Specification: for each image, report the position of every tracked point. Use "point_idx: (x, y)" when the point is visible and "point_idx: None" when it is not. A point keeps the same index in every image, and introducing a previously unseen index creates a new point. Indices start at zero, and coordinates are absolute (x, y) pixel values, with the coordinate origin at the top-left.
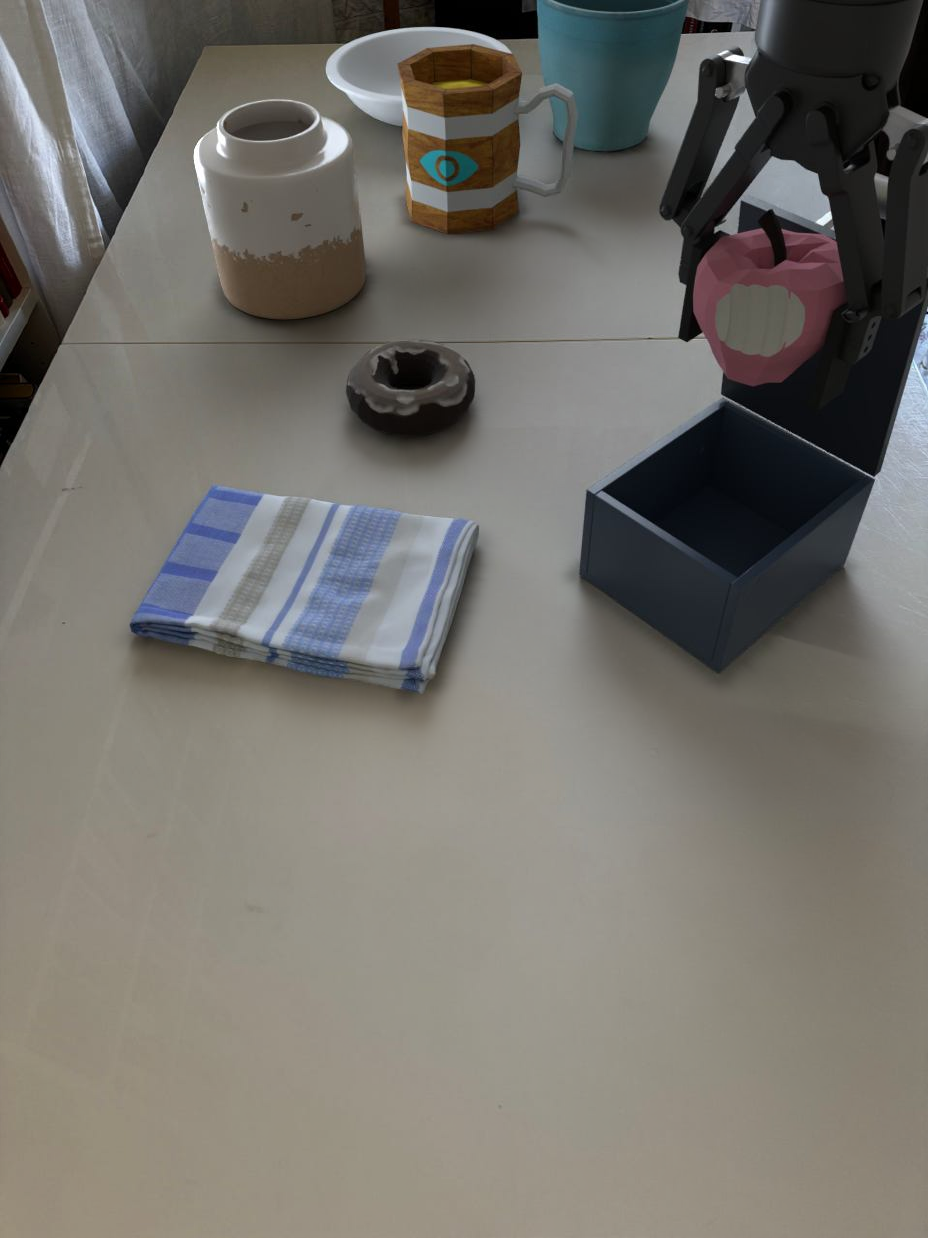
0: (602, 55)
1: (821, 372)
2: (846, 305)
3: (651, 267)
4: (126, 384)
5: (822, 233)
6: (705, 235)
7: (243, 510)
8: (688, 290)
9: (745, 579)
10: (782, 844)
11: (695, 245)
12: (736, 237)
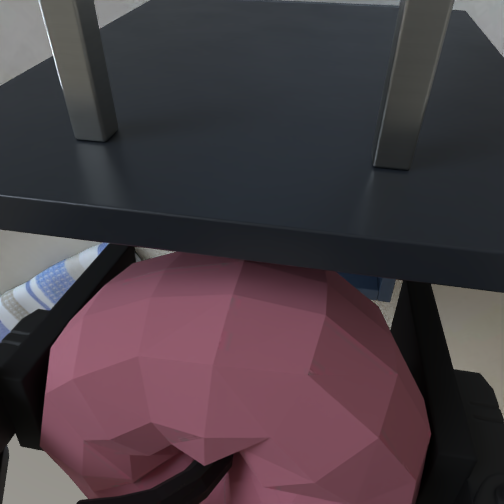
0: None
1: None
2: (429, 501)
3: None
4: None
5: (171, 248)
6: (5, 426)
7: (1, 329)
8: None
9: (387, 289)
10: (499, 329)
11: (23, 443)
12: (67, 454)
